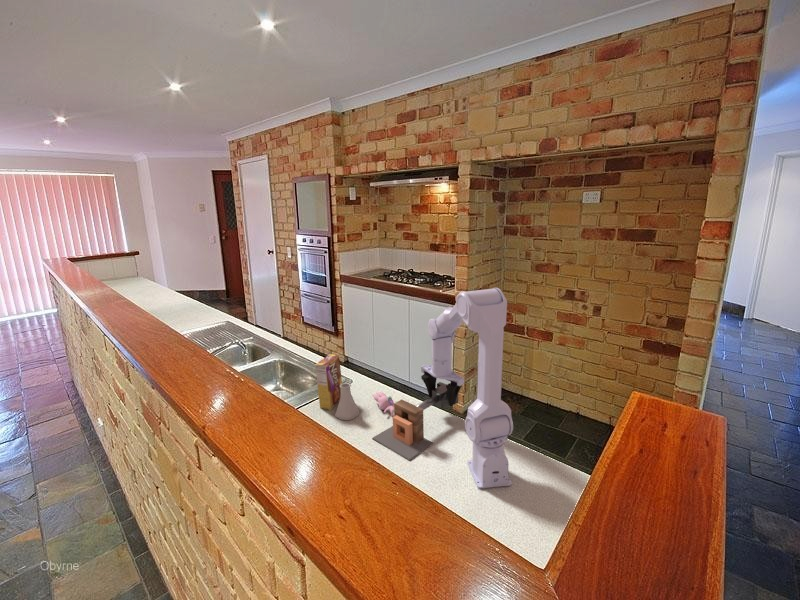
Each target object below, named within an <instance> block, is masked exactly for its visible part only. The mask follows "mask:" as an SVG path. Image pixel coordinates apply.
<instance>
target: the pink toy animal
mask: <svg viewBox="0 0 800 600" xmlns="http://www.w3.org/2000/svg"><path fill="white" fill-rule="evenodd" d="M371 396H372V397H373V400H375V401H376V402H377V403H378V408H379V409H381V410H382V411H383V410H384V411H383V413H384V414H386V413H387V411H388V412H389V413H390V415H391V416H390V417H392V418H393V417H394V416H395V411H394V403H395V401H394V400H393V398H392V396H387V395H386V393H384V392H383V391H377V392H376V393H372V394H371Z"/></svg>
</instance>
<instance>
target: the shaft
mask: <svg viewBox="0 0 800 600" xmlns="http://www.w3.org/2000/svg"><path fill="white" fill-rule="evenodd" d="M446 385H447V383H444V382H441V381H439V382H436V388H435V389H434V390H432V397H431V398H430V397H428V399H426V400H424V401H422V402H421V403H419V404H417V405H416V406H417V407H420V408H422V409H423V411H425V410H426V409H428V408H430V407H431V406H435V407H438V408H440V409H443V408H444V407H446V406H447V405H449V398H448V391H447V388H446ZM458 403H459V394H458V395H457V398H456V402H455V404H454V405H457V404H458ZM406 415H407V417H408V414H407V413H406Z"/></svg>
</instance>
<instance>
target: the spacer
mask: <svg viewBox="0 0 800 600" xmlns="http://www.w3.org/2000/svg"><path fill="white" fill-rule="evenodd" d="M392 426H393V437H395V438H396V439H398V440H400V441H402V442H404V443H406V444H407V445H411V444H412V443H413V426H412V423H411V422H409V421H407V420H405V419H403V418H401V417H399V416H397V415H396V416H394V417H392ZM400 426H402V427H404V428H405V434H404V433H402V432H401V429H400Z"/></svg>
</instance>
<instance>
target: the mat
mask: <svg viewBox="0 0 800 600" xmlns="http://www.w3.org/2000/svg"><path fill="white" fill-rule="evenodd" d="M371 439H372V440H373V441H375V442H377V443H378V444H380V445H381V446H384V447H385V448H387V449H388V450H390V451H392V452H394V453H395V454H397V455H398V456H400V457H402V458H403V459H405V460H407V461H411V460H412V459H414V458H416V457H417V456H418V455H420V454H421V453H423V452H424V451H425V450H427V449H428V448H430V447H431V446H433V445H434V442H433V441H431V440H429V439H427V438H425V437H424V439H423V440H422V441H420V442H419V443H417V444H415V443H412V444H411V445H407V444H406V443H404V442H402V441H400V440H398V439H396V438H395V437H393V425H392V426H390V427H388V428H386V429H385V430H384V431H382V432H379V433H377V434H376V435H375V436H373V437H372V438H371Z"/></svg>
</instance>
